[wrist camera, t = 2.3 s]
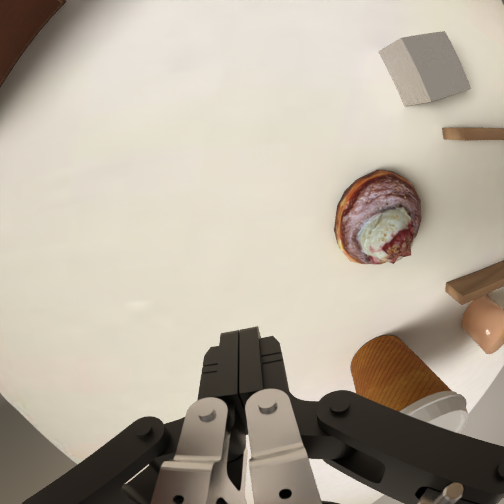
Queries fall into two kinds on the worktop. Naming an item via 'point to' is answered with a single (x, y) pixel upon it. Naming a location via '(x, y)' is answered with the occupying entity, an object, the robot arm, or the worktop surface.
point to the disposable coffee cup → (406, 384)
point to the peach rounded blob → (485, 323)
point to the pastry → (378, 218)
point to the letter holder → (21, 28)
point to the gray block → (424, 68)
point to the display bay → (490, 276)
